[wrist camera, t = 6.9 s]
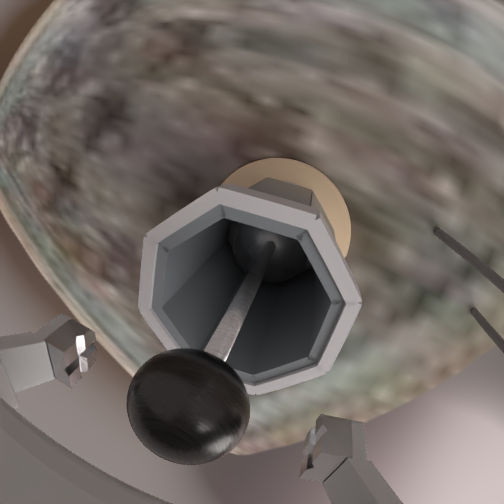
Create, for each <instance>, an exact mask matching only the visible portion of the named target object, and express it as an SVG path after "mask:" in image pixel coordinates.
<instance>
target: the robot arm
mask: <svg viewBox="0 0 504 504" xmlns="http://www.w3.org/2000/svg"><path fill="white" fill-rule="evenodd" d="M95 340H96V337H95V332H94V331H92V330H91V329H89V328H87V327H85V326H84V325H82V324H80V323H78V322H77V321H75V320H73V319H71V318H69V317H68V316H66V315H64V314H60V315H58V316H57V317H56V318H54V319H53V320H51V321H50V322H49V323H47V324H46V325H45V326H43V327H42V328H41V329H39V330H38V331H37V332H36V333H32V332H28V333H22V334H16V335H9V336H3V337H0V504H171V503H169V502H166V501H164V500H162V499H159V498H157V497H154V496H152V495H150V494H148V493H145V492H143V491H141V490H139V489H137V488H135V487H133V486H131V485H128V484H126V483H124V482H123V481H120V480H119V479H117V478H115V477H113V476H111V475H109V474H107V473H106V472H104V471H102V470H100V469H98V468H97V467H95V466H93V465H91V464H90V463H88V462H86V461H85V460H83V459H82V458H80V457H79V456H77V455H75V454H74V453H72V452H71V451H69V450H68V449H66V448H65V447H63V446H62V445H60V444H59V443H57V442H56V441H55V440H53V439H52V438H50V437H49V436H47V435H46V434H45V433H44V432H42V431H41V430H40V429H38V428H37V427H36V426H34V425H33V424H32V423H31V422H29V421H28V420H27V419H26V418H24V417H23V416H22V415H21V414H20V413H18V412H17V411H16V410H15V409H16V408H17V407H18V406H19V401H18V398H17V396H16V394H15V392H18V391H21V390H24V389H27V388H30V387H33V386H36V385H39V384H42V383H45V382H48V381H50V380H53V379H54V378H56V379H57V380H59V381H61V382H62V383H64V384H65V385H67V386H69V387H70V388H73V386H74V385H75V384H76V383H77V382H78V381H79V380H80V379H81V378H82V372H85V371H89V370H90V369H91V367H92V366H93V365H94V363H95V361H96V357H97V349H96V347H95V345H94V343H93V342H94V341H95ZM366 451H367V450H366V434H365V424H364V423H363V422H359V421H354V420H348V419H343V418H338V417H333V416H328V415H323V414H321V415H320V416H319V417H318V418H317V420H316V426H315V427H313V428H311V429H310V431H309V432H308V434H307V436H306V439H305V442H304V446H303V454H304V455H305V458H304V460H303V461H302V462H301V467H300V475H299V478H301V479H306V480H310V481H316V482H321V483H322V484H323V486H324V488H325V491H326V493H327V495H328V497H329V499H330V501H331V503H332V504H403V503H402V502H401V500H400V499H399V498H398V496H397V495H396V494H395V492H394V491H393V490H392V488H391V487H390V486H389V484H388V483H387V482H386V480H385V479H384V478H383V476H382V475H381V474H380V473H379V471H378V470H377V468H376V467H375V466H374V464H373V463H372V462H371V461H368V460H367V452H366Z"/></svg>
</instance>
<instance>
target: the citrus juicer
mask: <svg viewBox="0 0 504 504" xmlns="http://www.w3.org/2000/svg"><path fill="white" fill-rule="evenodd" d="M435 235H436V236H437V237H438V238H439V239H441V240H442V241H443V242H444V243H445V244H447V245H448V246H449V247H450V248H451V249H453V250H454V251H455V252H456V253H458V254H459V255H460V256H461V257H462V258H464V259H465V260H466V261H467V262H468V263H470V264H471V265H472V266H473V267H474V268H476V269H477V270H478V271H479V272H480V273H482V274H483V275H484V276H485V277H486V278H487V279H489V280H490V281H491V282H492V283H493V284H494V285H495V286H496V287H498V288H499V289H500V290H501V291H502V292H503V293H504V279H503V278H502V277H500V276H499V275H498V274H497V273H496V272H495V271H493V270H492V269H491V268H490V267H489V266H487V265H486V264H485V263H484V262H483V261H481V260H480V259H479V258H478V257H476V256H475V255H474V254H473V253H471V252H470V251H469V250H467V249H466V248H465V247H464V246H462V245H461V244H460V243H458V242H457V241H456V240H454V239H453V238H452V237H450V236H449V235H448V234H447V233H445V232H444V231H443V230H441V229H440V228H437V229H436V230H435ZM471 314H472V315H473V317H474V318H475V319H476V320H477V322H478V323H479V324H480V326H481V327H482V328H483V329H484V330H485V332H486V333H487V334H488V335H489V336H490V338H491V339H492V340H493V341H494V342H495V343H496V345H497V346H498V347H499V348H500V349H501V351H502V352H503V353H504V340H503V338H502V337H501V336H500V335H499V334H498V333H497V332H496V331H495V330H494V329H493V327H492V326H491V325H490V324H489V323H488V322H487V321H486V319H485V318H484V317H483V316H482V315H481V314H480V313H479V311H478V310H477V309H476V308H474V309H472V311H471Z"/></svg>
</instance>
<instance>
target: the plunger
mask: <svg viewBox="0 0 504 504" xmlns="http://www.w3.org/2000/svg"><path fill="white" fill-rule="evenodd" d="M232 250H233V254H234V257H235V259H236V261H237V263H238V264H239V266H240V267H241V268H242V269H243V270H244V271H245V272H246V273H247V276H246V278H245V280H244V281H243V283H242V285H241V287H240V288H239V290H238V292H237V294H236V295H235V297H234V299H233V301H232V302H231V304H230V306H229V308H228V309H227V311H226V313H225V315H224V316H223V318H222V320H221V322H220V323H219V325H218V327H217V329H216V330H215V332H214V334H213V335H212V337H211V339H210V341H209V342H208V344H207V346H206V348H205V349H204V351H202V350H198V349H192V348H178V349H172V350H168V351H165V352H162V353H160V354H158V355H156V356H154V357H152V358H151V359H149V360H148V361H147V362H145V363H144V364H143V365H142V366H141V367H140V369H139V370H138V371H137V372H136V374H135V375H134V377H133V379H132V381H131V384H130V386H129V390H128V394H127V413H128V417H129V421H130V424H131V427H132V429H133V430H134V432H135V434H136V436H137V437H138V438H139V440H140V441H141V442H142V443H143V445H144V446H145V447H147V448H148V449H149V450H150V451H151V452H153V453H154V454H156V455H157V456H159V457H161V458H163V459H165V460H168V461H170V462H173V463H177V464H183V465H200V464H205V463H209V462H212V461H215V460H217V459H219V458H221V457H223V456H225V455H226V454H228V453H229V452H230V451H232V450H233V449H234V448H235V446H236V445H237V444H238V443H239V442H240V440H241V439H242V437H243V435H244V434H245V431H246V429H247V426H248V422H249V418H250V403H249V397H248V393H247V390H246V388H245V385H244V383H243V381H242V380H241V378H240V377H239V375H238V374H237V373H236V371H235V370H234V369H233V368H232V367H231V366H230V365H229V364H227V363H226V362H225V361H226V359H227V357H228V355H229V353H230V350H231V348H232V346H233V344H234V342H235V339H236V337H237V335H238V333H239V331H240V328H241V326H242V324H243V322H244V319H245V317H246V315H247V313H248V311H249V308H250V306H251V304H252V302H253V299H254V297H255V295H256V293H257V290H258V288H259V286H260V283H261V281H264V282H270V283H276V282H282V281H285V280H288V279H290V278H292V277H294V276H295V275H296V274H298V273H299V272H300V271H301V270H302V268H303V267H304V266H305V264H306V262H307V260H308V257H307V255H306V254H305V252H304V250H303V248H302V246H301V245H300V243H299V241H298V240H297V239H294V238H290V237H287V236H284V235H280V234H277V233H274V232H270V231H267V230H264V229H260V228H257V227H254V226H250V225H247V224H243V223H240V222H238V224H237V225H236V227H235V230H234V232H233V236H232Z"/></svg>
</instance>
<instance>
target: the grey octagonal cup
mask: <svg viewBox="0 0 504 504" xmlns="http://www.w3.org/2000/svg"><path fill="white" fill-rule="evenodd" d="M238 222H240V223H243V224H247V225H250V226H254V227H257V228H260V229H264V230H267V231H270V232H274V233H277V234H280V235H284V236H287V237H290V238H294V239H297V240H298V241H299V243H300V245H301V246H302V248H303V250H304V252H305V254H306V255H307V257H308V260H307V262H306V264H305V266H304V267H303V268H302V270H301V271H300V272H299V273H298V274H296V275H295V276H294V277H292V278H290V279H288V280H285V281H282V282H276V283H270V282H264V281H261V283H260V286H259V288H258V290H257V293H256V295H255V297H254V299H253V302H252V304H251V306H250V308H249V311H248V313H247V315H246V317H245V319H244V322H243V324H242V326H241V328H240V331H239V333H238V335H237V337H236V339H235V342H234V344H233V346H232V348H231V350H230V353H229V355H228V357H227V359H226V361H225V362H226V363H227V364H229V365H230V366H231V367H232V368H233V369H234V370H235V371H236V373H237V374H238V375H239V377H240V378H241V380H242V381H243V383H244V385H245V388H246V390H247V393H249V394H252V395H255V393H256V394H257V395H260V394H264V393H268V392H271V391H275V390H278V389H281V388H285V387H288V386H291V385H295V384H298V383H301V382H304V381H307V380H310V379H313V378H316V377H319V376H322V375H325V374H326V372H329V371H330V369H331V367H332V365H333V363H334V361H335V359H336V357H337V355H338V353H339V352H340V350H341V348H342V346H343V344H344V342H345V340H346V337H347V335H348V333H349V331H350V329H351V327H352V325H353V323H354V321H355V319H356V316H357V314H358V312H359V310H360V308H361V306H362V303H361V301H362V299H361V295H360V291H359V287H358V285H357V283H356V281H355V278H354V276H353V274H352V272H351V270H350V268H349V266H348V264H347V262H346V260H345V257H346V255H347V252H348V248H349V245H350V238H351V223H350V216H349V213H348V209H347V206H346V204H345V202H344V199H343V197H342V196H341V194H340V192H339V191H338V189H337V188H336V186H335V185H334V184H333V183H332V182H331V181H330V180H329V179H328V178H327V177H326V176H325V175H324V174H323V173H321V172H320V171H318V170H317V169H316V168H314V167H312V166H310V165H308V164H306V163H303V162H300V161H297V160H292V159H288V158H268V159H263V160H258V161H255V162H252V163H249V164H247V165H245V166H243V167H241V168H239V169H238V170H236V171H235V172H234V173H232V174H231V175H230V176H229V177H228V178H227V179H226V180H225V181H224V182H223V183H222V185H221V186H218V187H215V188H214V189H212V190H210V191H209V192H207V193H206V194H204V195H203V196H201V197H199V198H198V199H196V200H195V201H193V202H192V203H190V204H189V205H187V206H186V207H184V208H183V209H181V210H180V211H178V212H177V213H175V214H174V215H172V216H171V217H169V218H168V219H166V220H165V221H163V222H162V223H160V224H159V225H157V226H156V227H154V228H153V229H152V230H150V231H149V232H147V233H146V236H144V242H143V251H142V262H141V273H140V287H139V303H138V308H139V309H141V310H140V311H139V312H140V313H141V314H142V316H143V317H144V319H145V320H146V322H147V323H148V324H149V326H150V327H151V329H152V330H153V331H154V333H155V334H156V335H157V337H158V338H159V339H160V341H161V342H162V344H163V345H164V346H165V348H166V349H167V350H172V349H178V348H192V349H198V350H202V351H204V349H205V348H206V346H207V344H208V342H209V341H210V339H211V337H212V335H213V334H214V332H215V330H216V329H217V327H218V325H219V323H220V322H221V320H222V318H223V316H224V315H225V313H226V311H227V309H228V308H229V306H230V304H231V302H232V301H233V299H234V297H235V295H236V294H237V292H238V290H239V288H240V287H241V285H242V283H243V281H244V280H245V278H246V276H247V273H246V272H245V271H244V270H243V269H242V268H241V267H240V266H239V264H238V263H237V261H236V259H235V257H234V254H233V250H232V236H233V232H234V230H235V227H236V225H237V224H238Z"/></svg>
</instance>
